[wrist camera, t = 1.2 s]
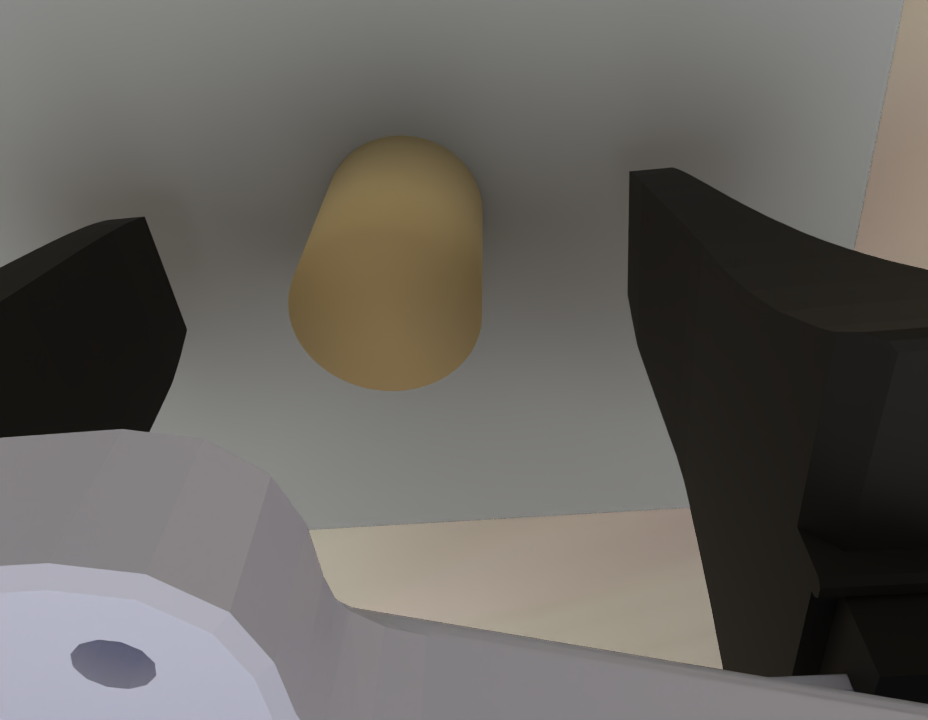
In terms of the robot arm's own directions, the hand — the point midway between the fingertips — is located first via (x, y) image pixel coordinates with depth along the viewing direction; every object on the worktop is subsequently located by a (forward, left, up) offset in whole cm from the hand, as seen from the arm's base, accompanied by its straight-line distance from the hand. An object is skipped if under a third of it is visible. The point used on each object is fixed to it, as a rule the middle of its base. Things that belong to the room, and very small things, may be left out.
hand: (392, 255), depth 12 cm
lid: (0, 0, -2) cm, 2 cm away
